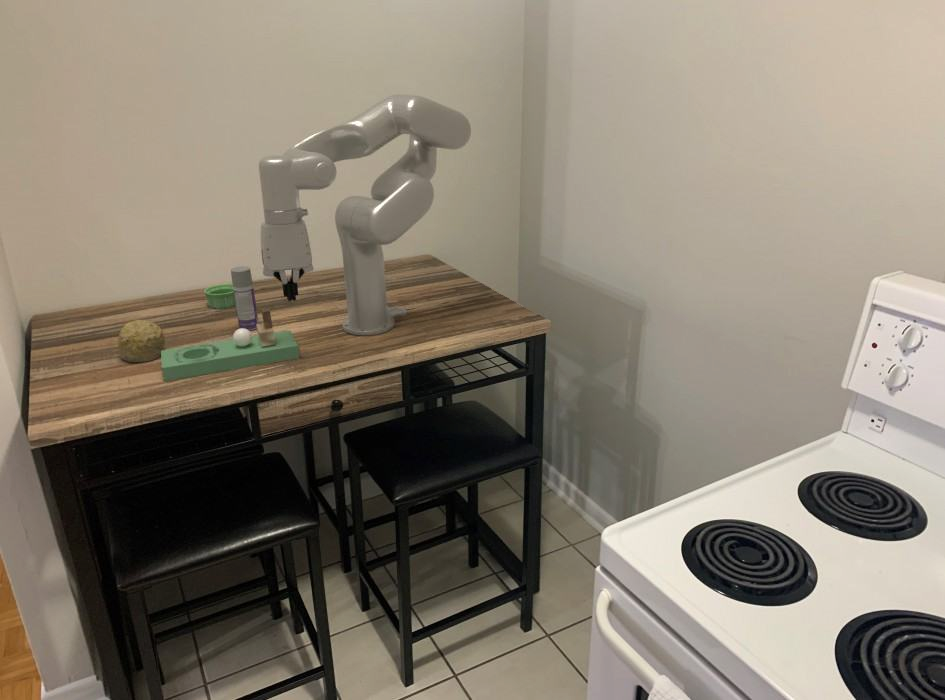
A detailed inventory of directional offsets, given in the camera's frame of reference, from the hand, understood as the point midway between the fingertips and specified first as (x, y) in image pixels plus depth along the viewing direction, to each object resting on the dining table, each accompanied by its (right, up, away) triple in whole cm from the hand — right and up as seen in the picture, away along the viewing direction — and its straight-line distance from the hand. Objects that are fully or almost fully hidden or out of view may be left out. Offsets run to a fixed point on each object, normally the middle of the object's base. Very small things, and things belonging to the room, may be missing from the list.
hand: (291, 298), depth 161 cm
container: (-15, -6, +18) cm, 24 cm away
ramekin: (-27, +1, +35) cm, 44 cm away
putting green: (-13, -14, 0) cm, 19 cm away
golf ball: (-11, -9, -1) cm, 14 cm away
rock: (-34, -13, +4) cm, 37 cm away
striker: (-6, -9, +2) cm, 11 cm away
